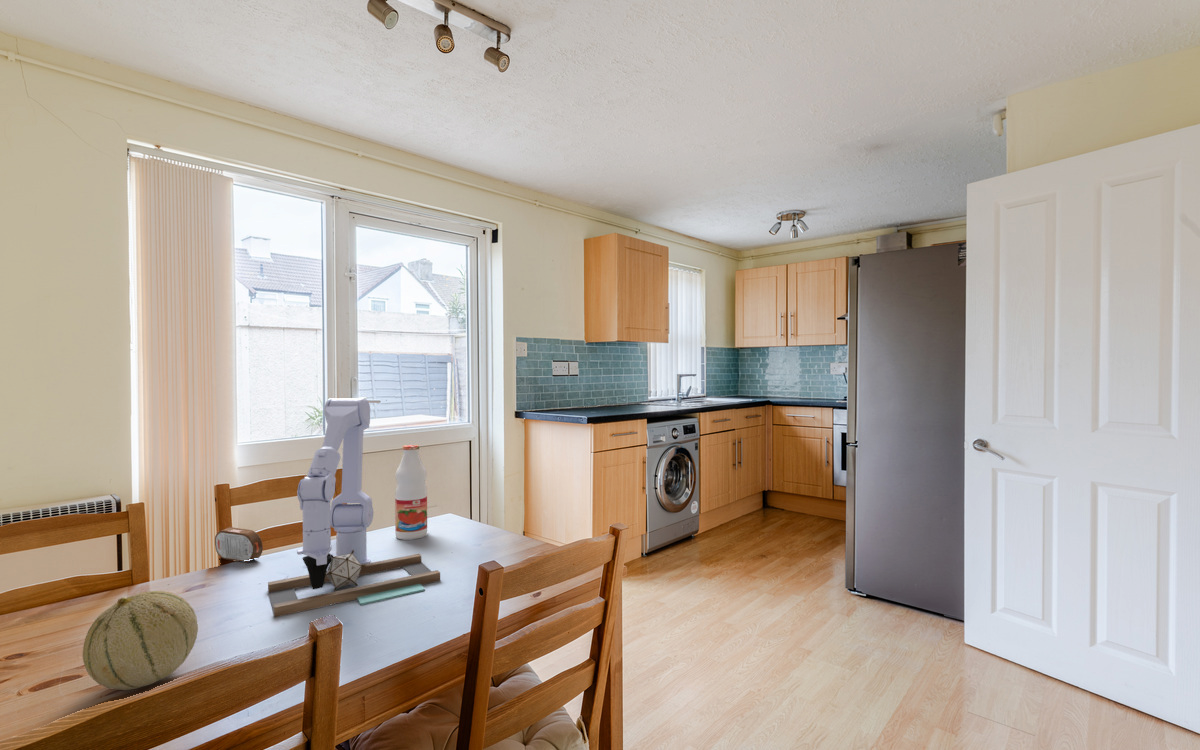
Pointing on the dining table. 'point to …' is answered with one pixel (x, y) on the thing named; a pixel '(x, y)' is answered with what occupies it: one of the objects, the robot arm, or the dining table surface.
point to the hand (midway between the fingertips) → (317, 587)
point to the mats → (291, 595)
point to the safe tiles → (390, 594)
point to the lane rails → (350, 593)
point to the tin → (238, 544)
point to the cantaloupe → (140, 640)
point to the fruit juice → (410, 496)
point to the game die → (344, 570)
